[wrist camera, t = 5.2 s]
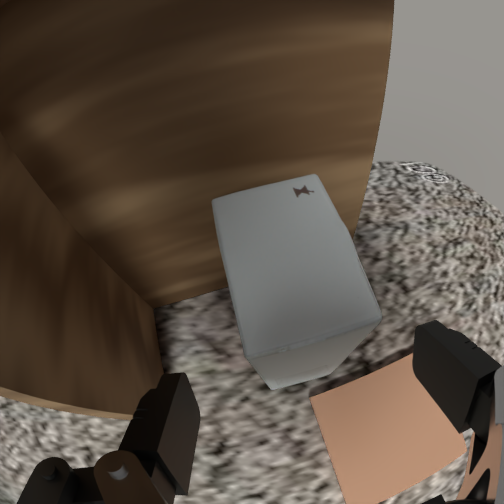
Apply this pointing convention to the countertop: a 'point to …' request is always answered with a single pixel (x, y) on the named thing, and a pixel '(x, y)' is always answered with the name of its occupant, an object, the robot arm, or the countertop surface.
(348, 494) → the terracotta tile
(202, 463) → the countertop surface
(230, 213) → the skincare box
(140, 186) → the walnut cubby
